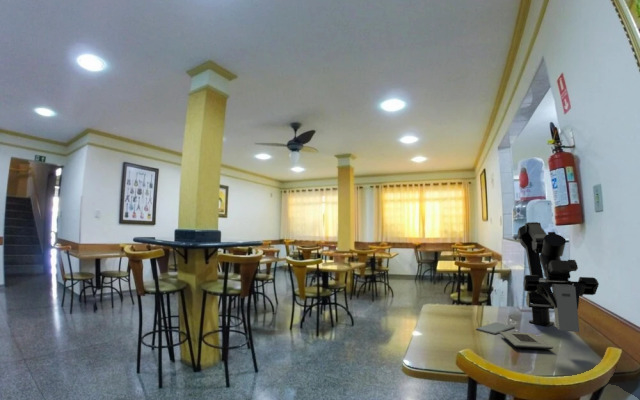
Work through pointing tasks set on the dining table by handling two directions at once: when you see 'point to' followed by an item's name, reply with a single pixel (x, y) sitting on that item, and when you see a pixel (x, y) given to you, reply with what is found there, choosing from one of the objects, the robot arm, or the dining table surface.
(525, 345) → the electrical outlet
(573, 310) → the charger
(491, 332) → the plate
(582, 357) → the dining table surface
